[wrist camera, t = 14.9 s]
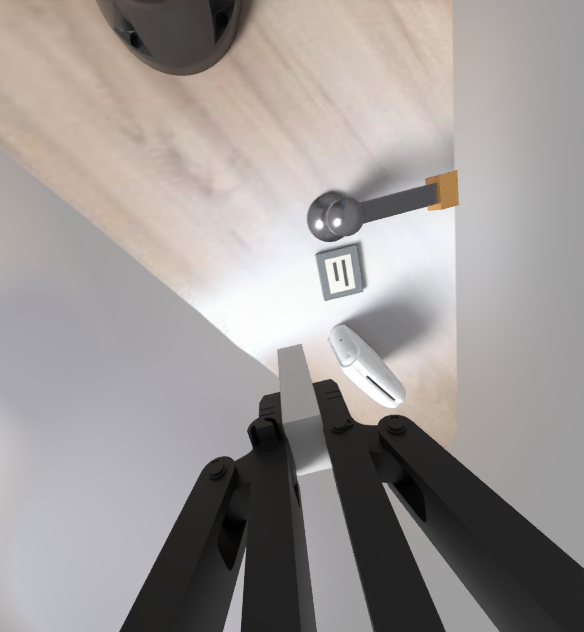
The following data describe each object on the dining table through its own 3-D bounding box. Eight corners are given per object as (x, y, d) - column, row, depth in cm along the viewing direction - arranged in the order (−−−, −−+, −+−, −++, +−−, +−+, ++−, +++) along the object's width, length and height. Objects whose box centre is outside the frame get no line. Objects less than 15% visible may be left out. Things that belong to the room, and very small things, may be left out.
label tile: (314, 254, 41) (316, 255, 40) (354, 245, 41) (356, 245, 40) (323, 299, 44) (324, 301, 43) (361, 290, 44) (363, 292, 43)
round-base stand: (302, 199, 39) (309, 195, 33) (347, 188, 39) (362, 182, 33) (311, 246, 41) (319, 250, 35) (354, 235, 41) (370, 238, 35)
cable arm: (328, 238, 34) (333, 240, 31) (321, 204, 33) (325, 203, 30) (443, 208, 34) (458, 206, 31) (441, 172, 33) (456, 168, 30)
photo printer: (322, 337, 46) (340, 376, 34) (340, 318, 45) (366, 352, 33) (363, 373, 49) (393, 421, 37) (382, 356, 48) (418, 400, 36)
